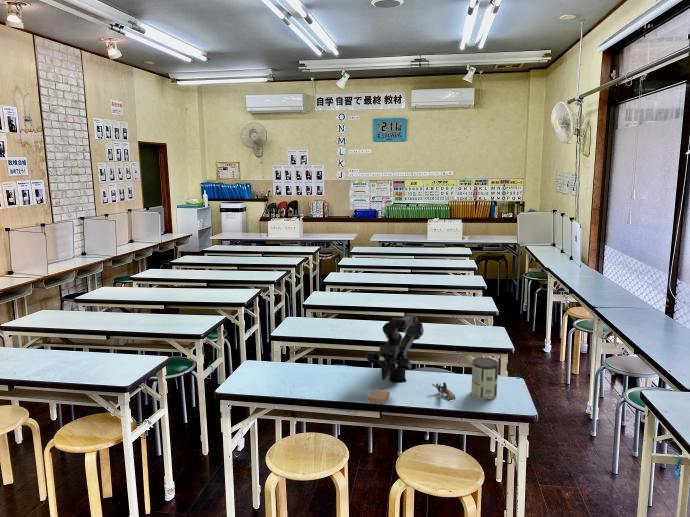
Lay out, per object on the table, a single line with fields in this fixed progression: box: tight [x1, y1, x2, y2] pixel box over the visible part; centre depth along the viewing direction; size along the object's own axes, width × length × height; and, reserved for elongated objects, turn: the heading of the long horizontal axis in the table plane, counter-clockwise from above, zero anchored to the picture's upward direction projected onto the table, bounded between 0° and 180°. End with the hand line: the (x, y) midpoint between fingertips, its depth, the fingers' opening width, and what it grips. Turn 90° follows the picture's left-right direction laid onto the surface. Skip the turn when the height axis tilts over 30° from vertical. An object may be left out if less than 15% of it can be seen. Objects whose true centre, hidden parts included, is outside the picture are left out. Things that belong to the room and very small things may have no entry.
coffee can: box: [470, 357, 499, 400], centre depth 208 cm, size 10×10×14 cm
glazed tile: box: [366, 388, 391, 405], centre depth 205 cm, size 2×6×8 cm
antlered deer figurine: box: [431, 380, 456, 401], centre depth 207 cm, size 8×7×9 cm
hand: (383, 379), depth 208 cm, fingers closed
